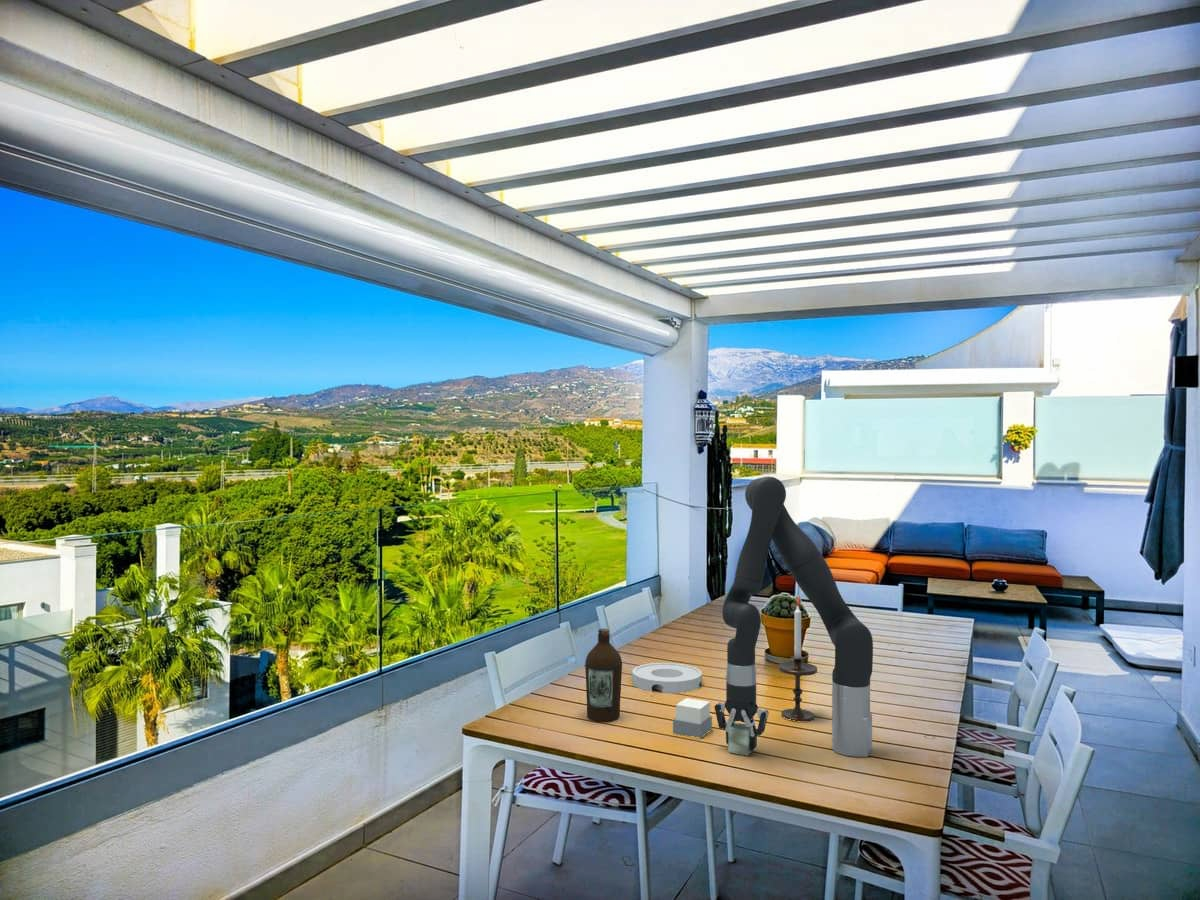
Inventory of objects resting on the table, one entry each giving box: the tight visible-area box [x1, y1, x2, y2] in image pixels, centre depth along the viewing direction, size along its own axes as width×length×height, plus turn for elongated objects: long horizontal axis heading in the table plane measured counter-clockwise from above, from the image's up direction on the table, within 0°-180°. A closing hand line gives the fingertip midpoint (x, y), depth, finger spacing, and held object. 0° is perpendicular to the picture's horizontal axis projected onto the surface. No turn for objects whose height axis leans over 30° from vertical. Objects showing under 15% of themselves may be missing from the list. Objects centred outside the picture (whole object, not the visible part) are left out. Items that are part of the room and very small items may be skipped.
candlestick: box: [777, 594, 818, 722], centre depth 223 cm, size 11×11×35 cm
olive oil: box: [584, 628, 623, 723], centre depth 222 cm, size 11×11×25 cm
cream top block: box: [675, 697, 711, 724], centre depth 210 cm, size 7×7×4 cm
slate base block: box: [672, 715, 713, 739], centre depth 210 cm, size 8×8×4 cm
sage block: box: [727, 721, 753, 756], centre depth 196 cm, size 5×5×6 cm
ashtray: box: [631, 662, 703, 694], centre depth 257 cm, size 23×23×4 cm
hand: (741, 747), depth 196 cm, fingers closed on sage block, 5 cm apart
